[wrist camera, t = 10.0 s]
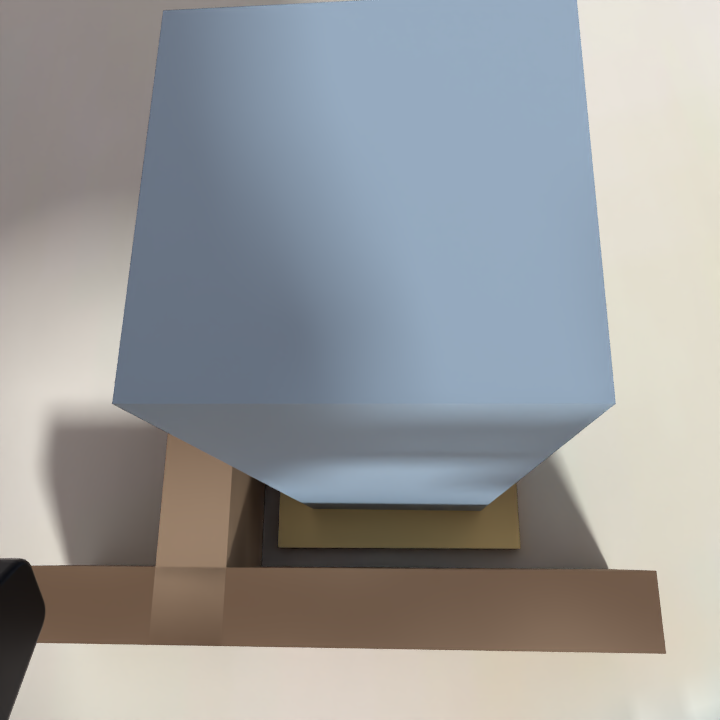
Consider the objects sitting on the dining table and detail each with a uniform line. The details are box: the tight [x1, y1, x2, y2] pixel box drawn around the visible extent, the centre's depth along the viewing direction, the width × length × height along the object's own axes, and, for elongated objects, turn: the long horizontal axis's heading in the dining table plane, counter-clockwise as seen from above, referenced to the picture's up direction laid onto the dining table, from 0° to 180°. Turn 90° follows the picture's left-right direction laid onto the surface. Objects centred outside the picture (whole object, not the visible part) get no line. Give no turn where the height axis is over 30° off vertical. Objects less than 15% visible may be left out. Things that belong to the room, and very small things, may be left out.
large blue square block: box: [112, 0, 616, 511], centre depth 13 cm, size 4×4×12 cm
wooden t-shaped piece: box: [31, 433, 666, 654], centre depth 17 cm, size 12×14×4 cm
